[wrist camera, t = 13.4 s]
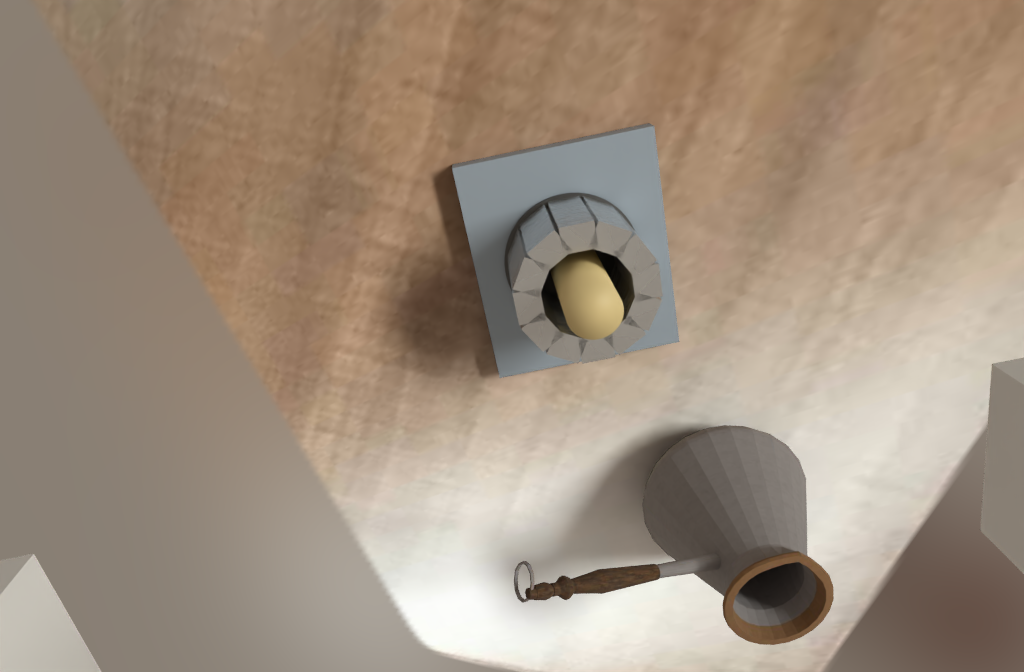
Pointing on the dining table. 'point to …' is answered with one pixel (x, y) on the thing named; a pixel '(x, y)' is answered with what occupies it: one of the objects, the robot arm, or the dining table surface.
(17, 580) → the robot arm
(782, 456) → the coffee pot
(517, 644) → the dining table surface
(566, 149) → the square base plate
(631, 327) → the ring
